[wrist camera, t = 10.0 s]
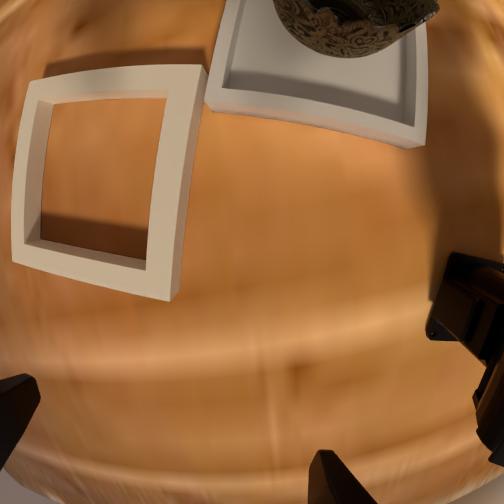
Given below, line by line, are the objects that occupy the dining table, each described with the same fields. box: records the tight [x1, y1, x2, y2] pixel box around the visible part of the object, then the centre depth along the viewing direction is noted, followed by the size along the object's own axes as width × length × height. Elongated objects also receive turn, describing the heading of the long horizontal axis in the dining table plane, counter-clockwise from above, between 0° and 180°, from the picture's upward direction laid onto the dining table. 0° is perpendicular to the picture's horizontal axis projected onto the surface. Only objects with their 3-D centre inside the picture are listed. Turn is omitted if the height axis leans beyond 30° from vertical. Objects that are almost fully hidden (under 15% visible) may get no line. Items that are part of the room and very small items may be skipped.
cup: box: [273, 0, 440, 58], centre depth 10 cm, size 8×7×8 cm
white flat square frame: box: [11, 64, 209, 302], centre depth 17 cm, size 14×14×2 cm
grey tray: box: [204, 0, 428, 149], centre depth 14 cm, size 12×12×2 cm
